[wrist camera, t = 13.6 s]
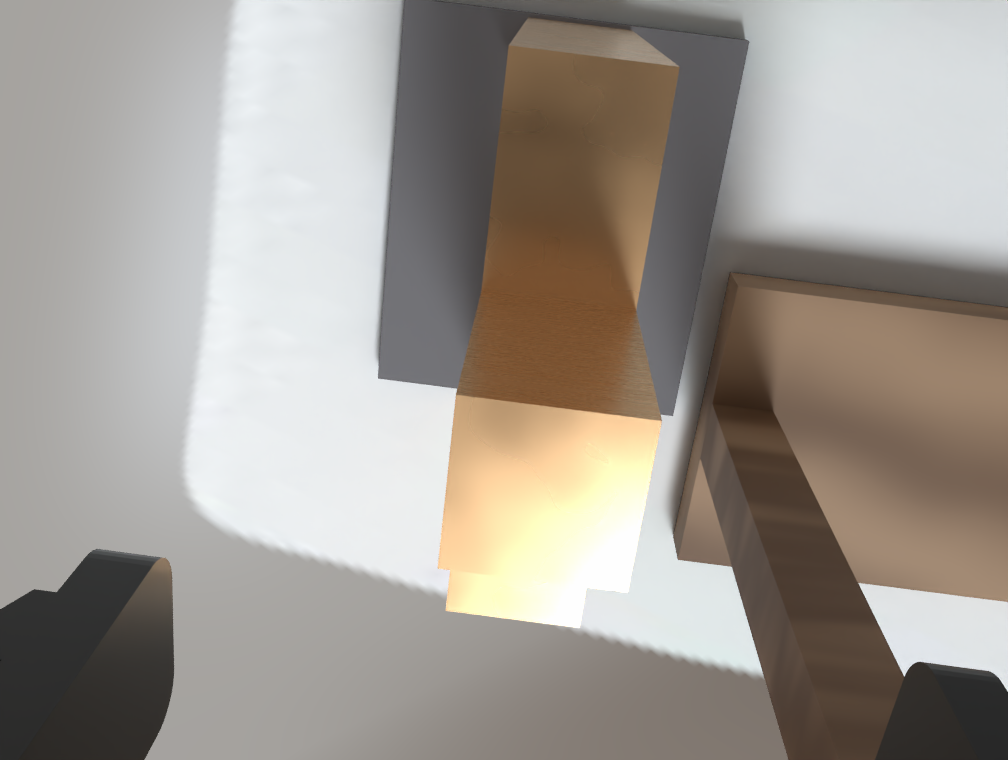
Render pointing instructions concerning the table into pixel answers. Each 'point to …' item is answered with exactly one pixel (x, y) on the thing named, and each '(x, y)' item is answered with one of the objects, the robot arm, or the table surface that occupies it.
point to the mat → (470, 175)
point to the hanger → (560, 332)
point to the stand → (846, 484)
